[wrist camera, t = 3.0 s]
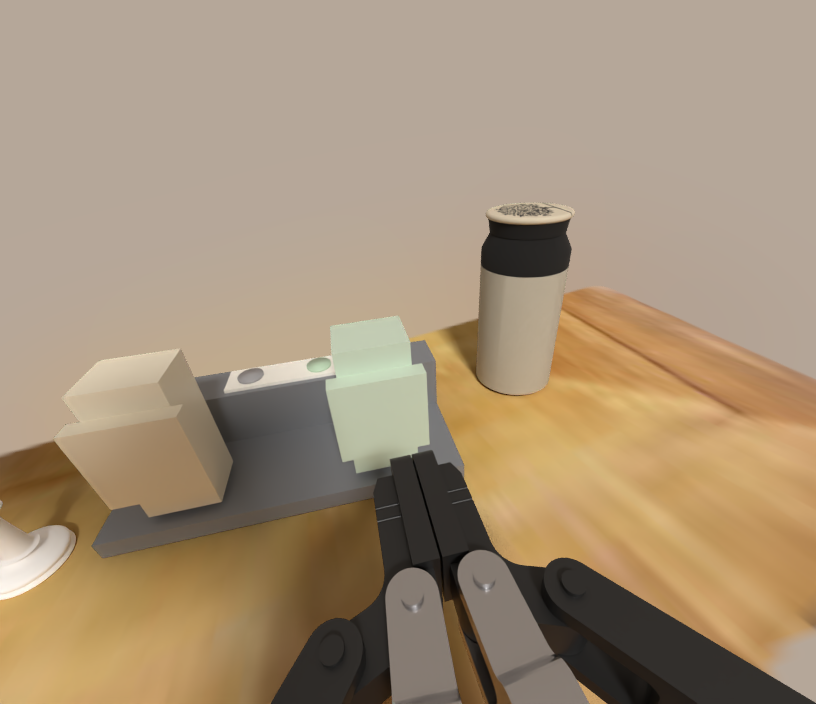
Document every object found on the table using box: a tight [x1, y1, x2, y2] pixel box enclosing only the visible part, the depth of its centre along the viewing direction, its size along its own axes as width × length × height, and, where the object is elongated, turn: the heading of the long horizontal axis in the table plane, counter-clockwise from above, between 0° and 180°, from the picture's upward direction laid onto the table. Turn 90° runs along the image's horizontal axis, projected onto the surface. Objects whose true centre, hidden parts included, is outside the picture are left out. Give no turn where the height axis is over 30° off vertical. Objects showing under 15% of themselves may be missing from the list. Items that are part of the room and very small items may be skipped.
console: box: [92, 340, 464, 558], centre depth 30 cm, size 27×12×7 cm, turn 102°
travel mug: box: [476, 203, 575, 395], centre depth 36 cm, size 8×8×18 cm
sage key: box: [326, 316, 430, 473], centre depth 26 cm, size 6×5×11 cm
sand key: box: [53, 349, 233, 517], centre depth 24 cm, size 6×5×11 cm
